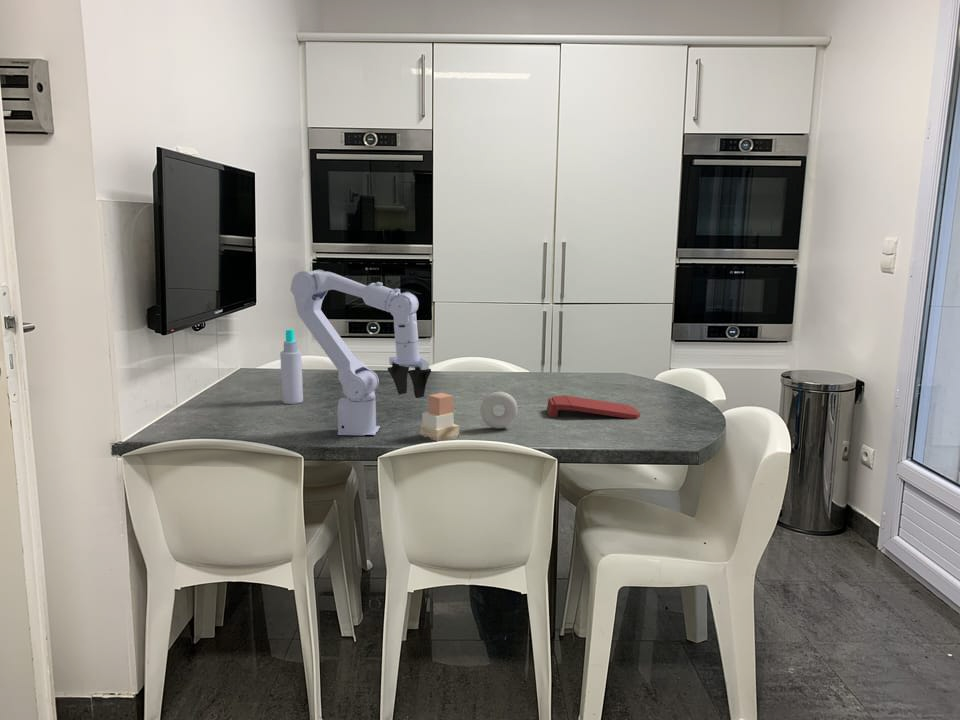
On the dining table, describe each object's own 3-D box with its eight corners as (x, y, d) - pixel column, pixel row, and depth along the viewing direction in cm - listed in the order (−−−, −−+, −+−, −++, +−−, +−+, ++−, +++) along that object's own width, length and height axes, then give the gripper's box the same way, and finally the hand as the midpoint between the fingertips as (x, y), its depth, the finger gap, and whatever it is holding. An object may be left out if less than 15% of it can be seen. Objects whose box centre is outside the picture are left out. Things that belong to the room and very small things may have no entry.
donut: (480, 430, 190) (480, 393, 188) (479, 427, 193) (479, 390, 191) (518, 429, 191) (519, 392, 189) (516, 426, 194) (516, 389, 192)
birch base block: (437, 442, 180) (437, 430, 180) (420, 436, 185) (420, 424, 185) (459, 437, 185) (459, 425, 184) (441, 432, 190) (441, 420, 189)
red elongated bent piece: (629, 421, 215) (545, 408, 214) (632, 405, 215) (548, 392, 213) (638, 432, 203) (550, 419, 202) (642, 415, 203) (553, 402, 201)
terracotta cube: (439, 415, 181) (439, 398, 180) (428, 412, 184) (428, 395, 183) (453, 412, 184) (453, 395, 183) (442, 409, 187) (442, 392, 186)
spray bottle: (297, 405, 217) (294, 331, 213) (278, 404, 218) (275, 330, 214) (306, 400, 222) (303, 328, 219) (288, 399, 224) (285, 328, 220)
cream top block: (436, 429, 180) (436, 416, 180) (422, 424, 184) (422, 412, 184) (453, 425, 184) (453, 413, 184) (439, 421, 188) (439, 409, 188)
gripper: (437, 341, 178) (441, 396, 180) (403, 338, 189) (407, 389, 191) (413, 345, 173) (417, 401, 176) (380, 341, 185) (384, 394, 187)
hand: (410, 395), depth 183 cm, fingers open, 7 cm apart
